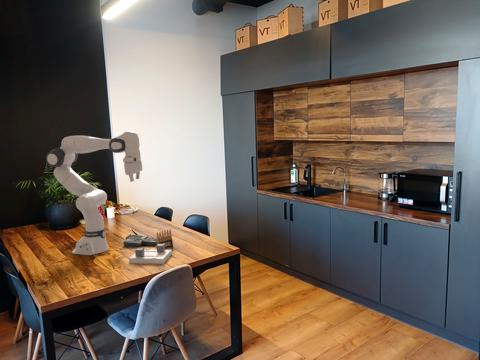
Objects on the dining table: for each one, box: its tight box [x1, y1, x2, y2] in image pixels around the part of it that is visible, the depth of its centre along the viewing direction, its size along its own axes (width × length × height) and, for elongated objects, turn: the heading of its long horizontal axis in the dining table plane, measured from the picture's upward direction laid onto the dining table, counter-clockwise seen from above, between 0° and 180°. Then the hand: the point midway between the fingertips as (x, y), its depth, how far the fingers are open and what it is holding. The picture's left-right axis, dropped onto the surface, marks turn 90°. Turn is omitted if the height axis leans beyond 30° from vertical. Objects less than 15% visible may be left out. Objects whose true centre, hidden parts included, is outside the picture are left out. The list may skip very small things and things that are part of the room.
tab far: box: [155, 244, 166, 252], centre depth 227 cm, size 4×4×4 cm
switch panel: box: [128, 248, 173, 265], centre depth 224 cm, size 21×15×3 cm
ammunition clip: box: [156, 229, 174, 250], centre depth 241 cm, size 11×2×12 cm, turn 125°
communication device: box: [122, 228, 157, 248], centre depth 251 cm, size 12×24×9 cm, turn 79°
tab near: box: [134, 247, 145, 257], centre depth 220 cm, size 4×4×4 cm
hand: (135, 180), depth 230 cm, fingers open, 8 cm apart
